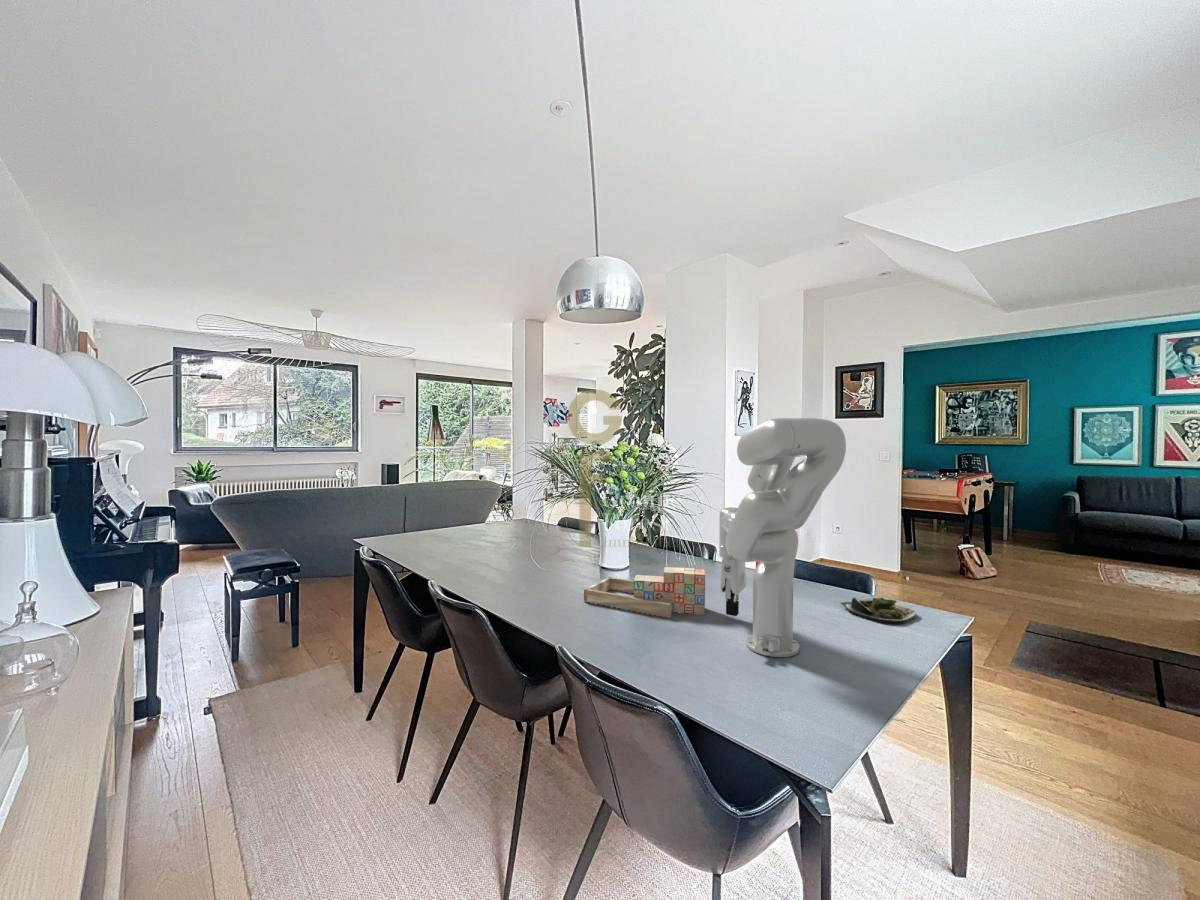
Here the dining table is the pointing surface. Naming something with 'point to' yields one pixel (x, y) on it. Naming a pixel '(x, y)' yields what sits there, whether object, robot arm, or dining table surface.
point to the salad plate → (879, 610)
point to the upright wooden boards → (624, 597)
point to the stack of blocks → (675, 589)
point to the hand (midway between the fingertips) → (732, 614)
